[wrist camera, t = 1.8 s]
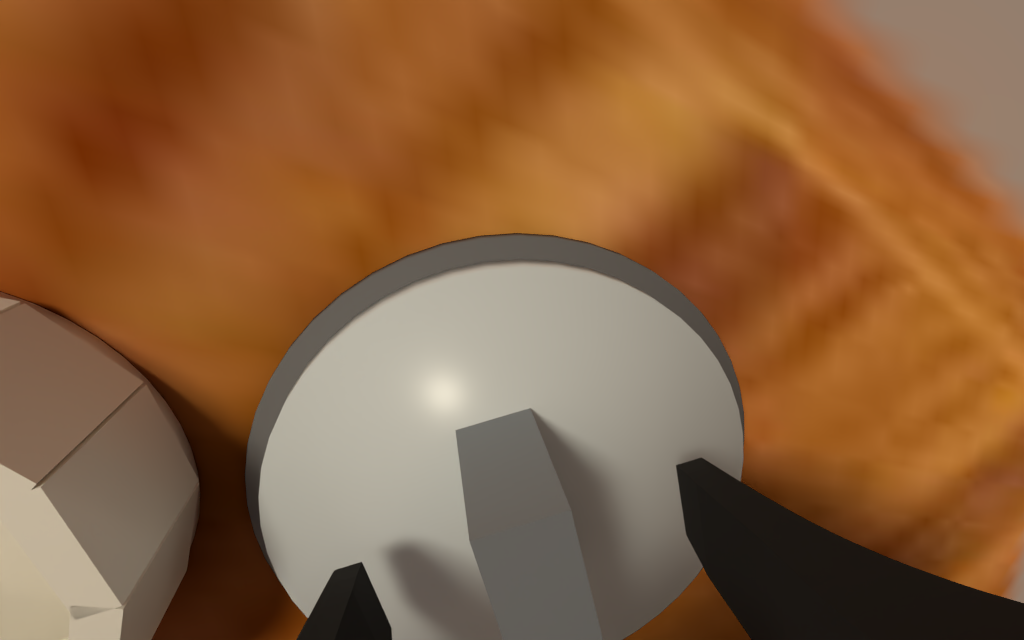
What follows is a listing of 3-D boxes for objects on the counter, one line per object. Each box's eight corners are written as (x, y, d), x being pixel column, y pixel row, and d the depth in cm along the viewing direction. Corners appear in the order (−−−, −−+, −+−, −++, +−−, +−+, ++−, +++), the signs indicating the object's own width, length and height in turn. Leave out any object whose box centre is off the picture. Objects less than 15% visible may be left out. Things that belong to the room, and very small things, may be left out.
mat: (752, 577, 17) (759, 587, 17) (353, 708, 17) (352, 722, 16) (713, 170, 13) (722, 171, 12) (151, 322, 12) (143, 328, 11)
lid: (743, 580, 17) (847, 726, 13) (363, 706, 16) (344, 904, 12) (703, 198, 13) (842, 235, 8) (177, 343, 12) (50, 461, 8)
